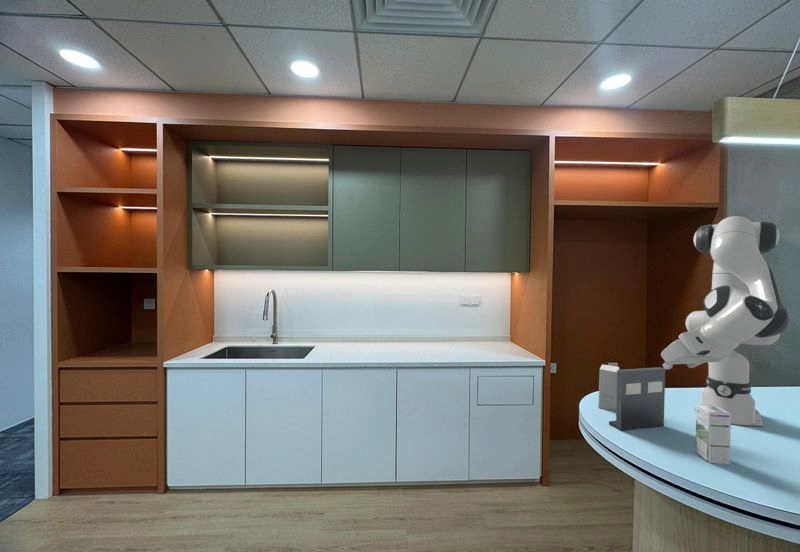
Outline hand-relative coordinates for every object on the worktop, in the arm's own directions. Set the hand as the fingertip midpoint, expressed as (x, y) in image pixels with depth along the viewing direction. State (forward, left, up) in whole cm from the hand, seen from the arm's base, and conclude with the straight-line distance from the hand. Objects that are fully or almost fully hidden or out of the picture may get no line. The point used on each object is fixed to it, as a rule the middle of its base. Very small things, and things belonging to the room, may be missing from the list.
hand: (677, 366), depth 112 cm
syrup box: (+4, +10, -24) cm, 26 cm away
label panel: (-3, -12, -24) cm, 27 cm away
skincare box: (-14, -25, -24) cm, 38 cm away
